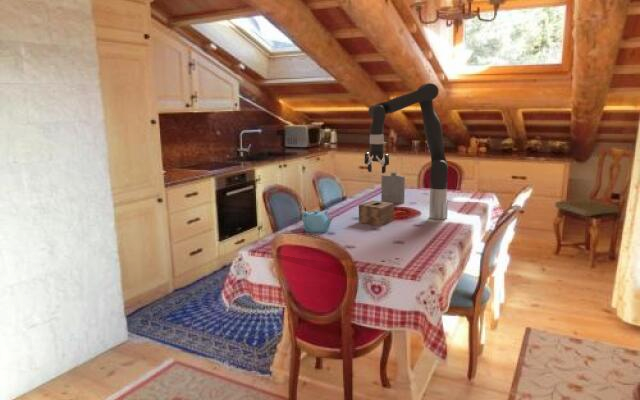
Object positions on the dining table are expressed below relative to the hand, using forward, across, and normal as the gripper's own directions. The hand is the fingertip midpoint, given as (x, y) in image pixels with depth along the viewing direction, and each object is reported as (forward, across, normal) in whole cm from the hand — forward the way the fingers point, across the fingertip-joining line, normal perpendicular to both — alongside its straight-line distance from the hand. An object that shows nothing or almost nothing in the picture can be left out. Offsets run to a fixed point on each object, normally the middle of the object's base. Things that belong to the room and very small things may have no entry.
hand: (376, 172), depth 262 cm
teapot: (+28, +16, +33) cm, 46 cm away
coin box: (+28, 0, 0) cm, 28 cm away
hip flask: (+28, +18, -49) cm, 59 cm away
